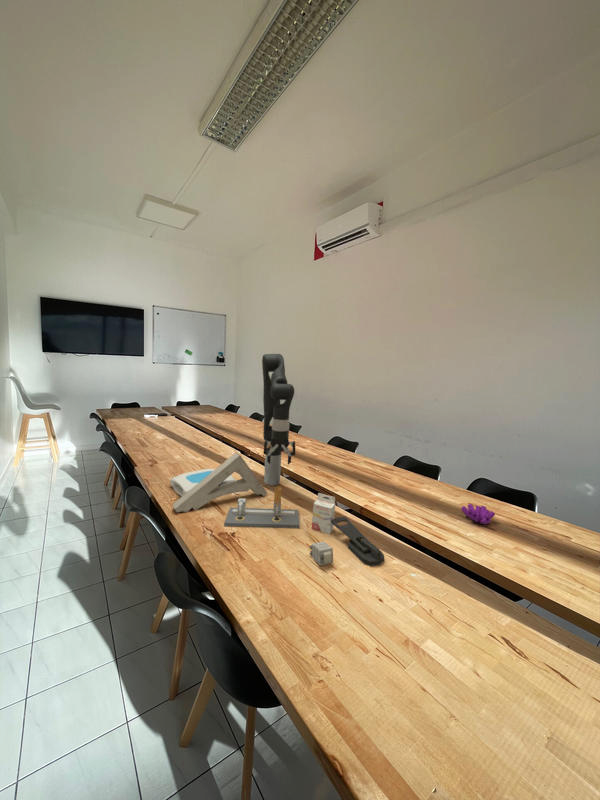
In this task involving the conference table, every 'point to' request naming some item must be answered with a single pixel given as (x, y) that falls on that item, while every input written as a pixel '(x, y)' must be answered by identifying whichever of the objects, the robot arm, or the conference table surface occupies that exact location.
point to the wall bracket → (211, 490)
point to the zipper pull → (359, 544)
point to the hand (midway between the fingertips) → (278, 463)
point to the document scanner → (192, 480)
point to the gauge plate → (261, 517)
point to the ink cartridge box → (323, 513)
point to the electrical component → (321, 552)
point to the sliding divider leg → (277, 501)
